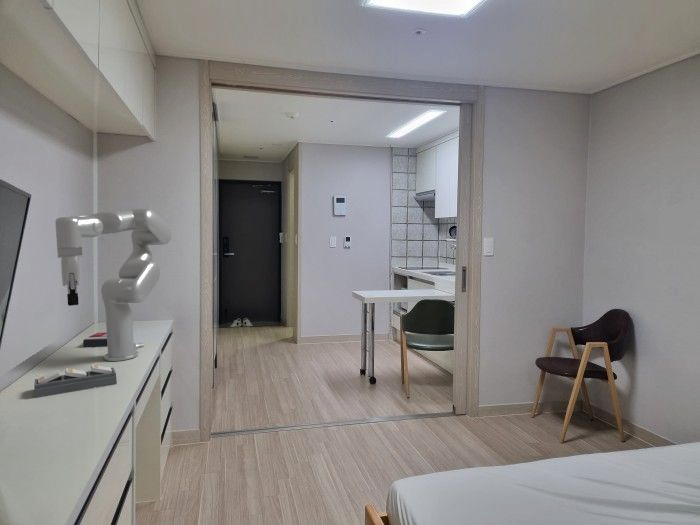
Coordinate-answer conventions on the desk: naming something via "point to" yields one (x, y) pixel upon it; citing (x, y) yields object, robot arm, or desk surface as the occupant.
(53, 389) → the rocker switch panel
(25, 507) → the desk surface
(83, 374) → the rocker middle
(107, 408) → the desk surface
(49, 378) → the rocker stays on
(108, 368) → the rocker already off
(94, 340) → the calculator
